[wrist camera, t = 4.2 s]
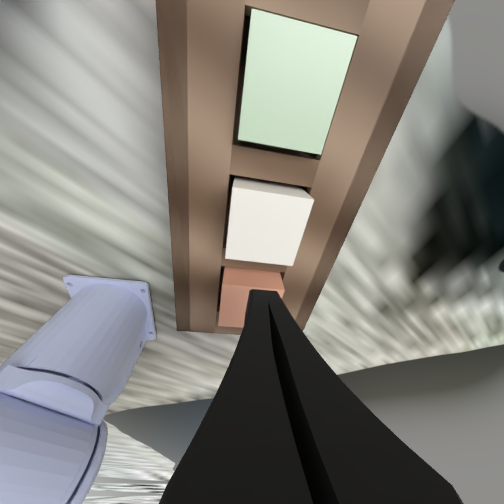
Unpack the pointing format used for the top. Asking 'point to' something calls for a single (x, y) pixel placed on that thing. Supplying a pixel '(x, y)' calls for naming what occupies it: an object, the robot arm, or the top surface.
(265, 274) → the terracotta key
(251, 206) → the cream key
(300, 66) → the sage key
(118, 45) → the top surface
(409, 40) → the frame
